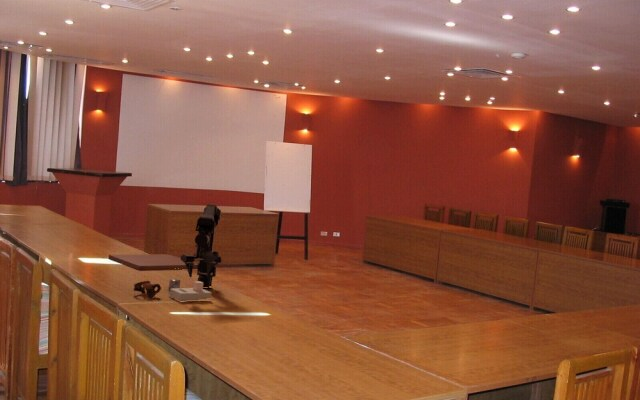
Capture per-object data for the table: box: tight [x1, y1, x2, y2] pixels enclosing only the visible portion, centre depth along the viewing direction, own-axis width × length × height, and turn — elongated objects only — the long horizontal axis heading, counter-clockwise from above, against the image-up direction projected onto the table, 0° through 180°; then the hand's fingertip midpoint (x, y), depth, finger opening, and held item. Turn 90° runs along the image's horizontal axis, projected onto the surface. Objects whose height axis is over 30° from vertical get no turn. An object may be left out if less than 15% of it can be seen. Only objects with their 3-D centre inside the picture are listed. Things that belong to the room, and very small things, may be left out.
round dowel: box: [168, 278, 181, 293], centre depth 332 cm, size 5×5×6 cm
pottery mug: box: [133, 280, 162, 299], centre depth 316 cm, size 12×10×8 cm
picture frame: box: [108, 253, 198, 271], centre depth 402 cm, size 40×3×33 cm
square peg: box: [192, 280, 203, 292], centre depth 324 cm, size 3×3×8 cm
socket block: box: [168, 287, 213, 301], centre depth 322 cm, size 16×10×4 cm, turn 130°
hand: (199, 277), depth 323 cm, fingers open, 9 cm apart
